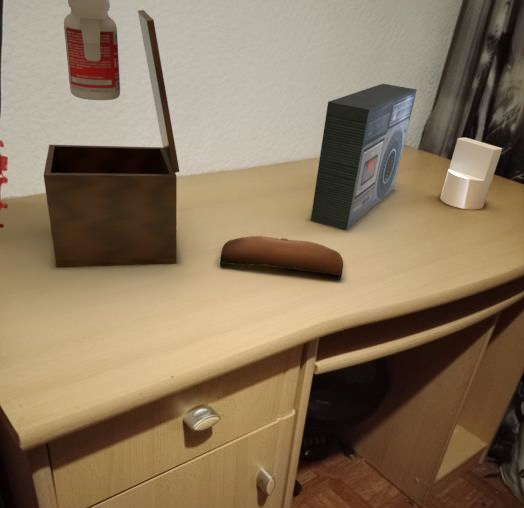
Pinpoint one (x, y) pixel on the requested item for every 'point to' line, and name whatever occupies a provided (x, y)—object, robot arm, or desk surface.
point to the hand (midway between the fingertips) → (92, 55)
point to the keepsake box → (111, 205)
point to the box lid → (158, 87)
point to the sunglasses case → (282, 254)
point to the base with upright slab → (470, 174)
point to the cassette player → (360, 153)
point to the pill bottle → (92, 72)
